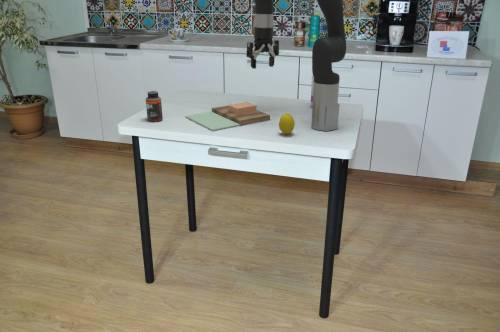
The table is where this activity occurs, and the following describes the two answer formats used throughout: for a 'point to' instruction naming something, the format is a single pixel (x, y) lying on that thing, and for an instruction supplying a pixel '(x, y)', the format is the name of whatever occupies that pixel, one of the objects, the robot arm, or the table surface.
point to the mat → (212, 121)
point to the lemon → (286, 123)
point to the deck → (241, 116)
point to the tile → (242, 108)
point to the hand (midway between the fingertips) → (262, 67)
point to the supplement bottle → (154, 107)
